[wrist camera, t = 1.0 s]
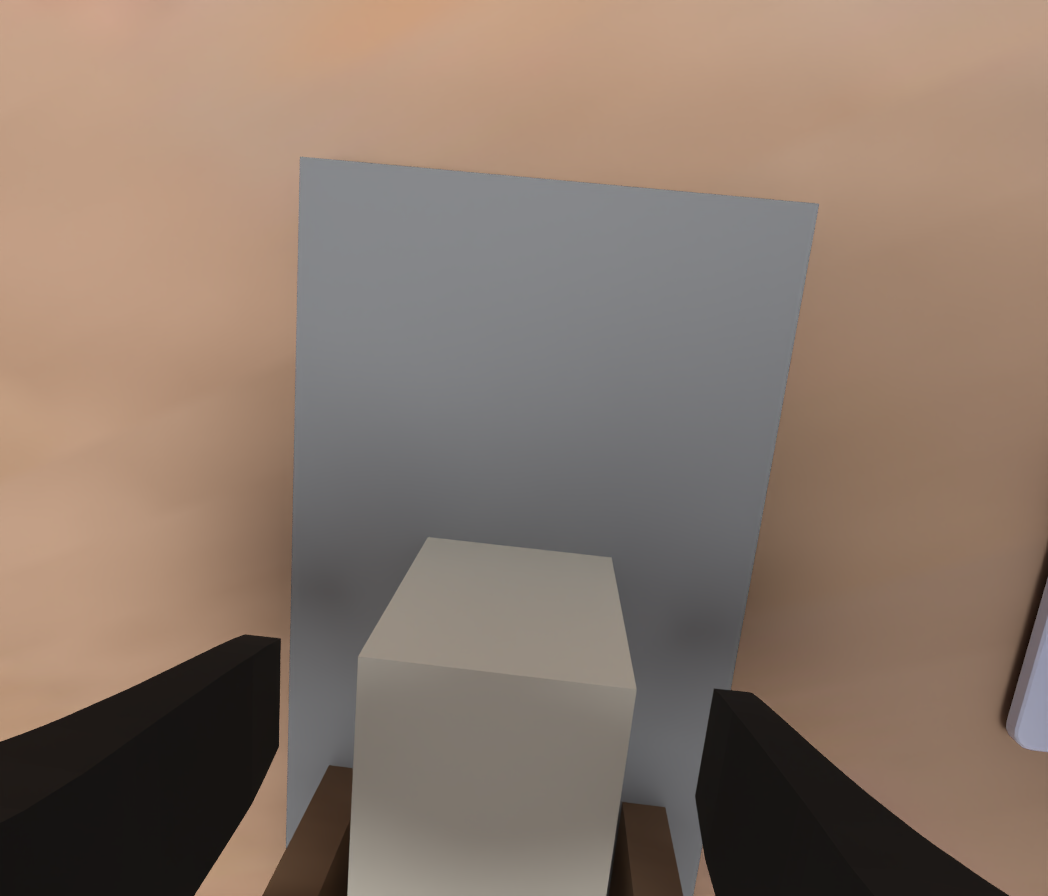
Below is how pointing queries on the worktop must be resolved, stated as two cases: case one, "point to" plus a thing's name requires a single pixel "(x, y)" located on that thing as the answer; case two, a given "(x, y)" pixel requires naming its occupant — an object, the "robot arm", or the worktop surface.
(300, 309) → the grey deck
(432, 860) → the cream block
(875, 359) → the worktop surface
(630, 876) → the walnut tunnel
